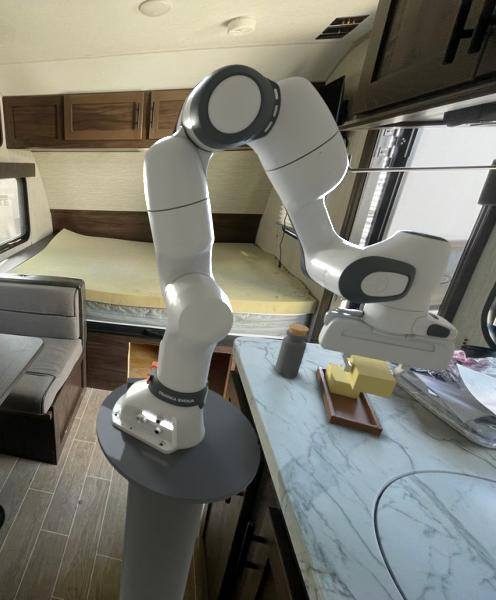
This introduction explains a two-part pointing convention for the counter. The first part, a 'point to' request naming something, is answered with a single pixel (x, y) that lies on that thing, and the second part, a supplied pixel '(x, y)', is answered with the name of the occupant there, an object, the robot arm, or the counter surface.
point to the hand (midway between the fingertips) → (368, 375)
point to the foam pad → (371, 376)
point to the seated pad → (339, 381)
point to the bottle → (292, 351)
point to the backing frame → (349, 409)
